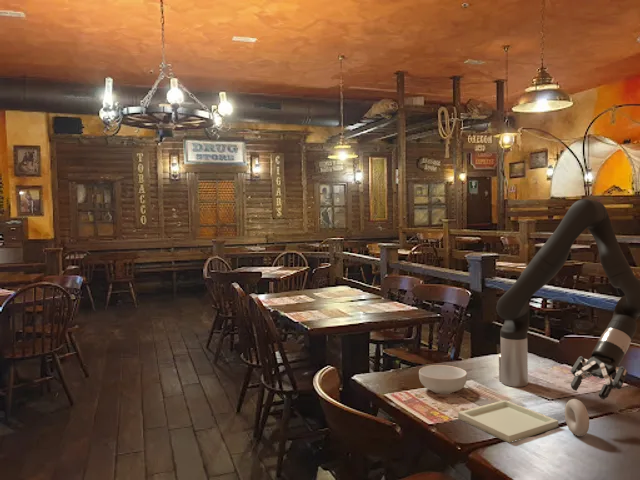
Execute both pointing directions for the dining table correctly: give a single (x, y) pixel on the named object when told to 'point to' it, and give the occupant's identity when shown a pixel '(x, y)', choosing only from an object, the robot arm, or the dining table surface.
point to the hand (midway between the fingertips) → (587, 393)
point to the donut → (577, 417)
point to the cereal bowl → (443, 378)
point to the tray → (508, 420)
